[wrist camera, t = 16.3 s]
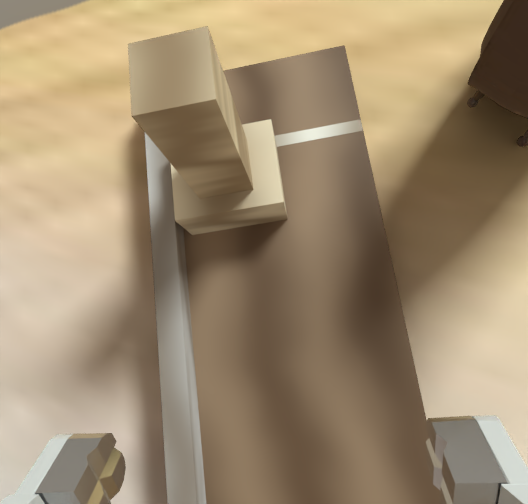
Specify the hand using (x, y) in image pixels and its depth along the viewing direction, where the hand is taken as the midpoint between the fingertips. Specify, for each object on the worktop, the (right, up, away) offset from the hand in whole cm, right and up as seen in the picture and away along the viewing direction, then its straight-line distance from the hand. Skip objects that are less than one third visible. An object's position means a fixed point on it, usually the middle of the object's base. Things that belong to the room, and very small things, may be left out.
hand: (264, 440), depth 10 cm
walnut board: (+1, +3, +14) cm, 15 cm away
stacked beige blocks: (-2, +9, +14) cm, 17 cm away
